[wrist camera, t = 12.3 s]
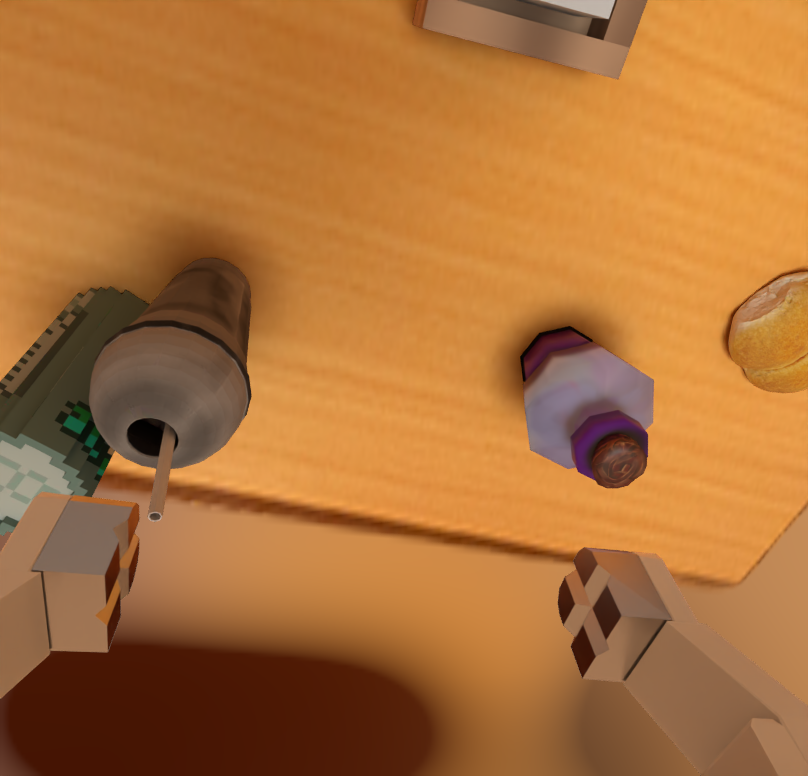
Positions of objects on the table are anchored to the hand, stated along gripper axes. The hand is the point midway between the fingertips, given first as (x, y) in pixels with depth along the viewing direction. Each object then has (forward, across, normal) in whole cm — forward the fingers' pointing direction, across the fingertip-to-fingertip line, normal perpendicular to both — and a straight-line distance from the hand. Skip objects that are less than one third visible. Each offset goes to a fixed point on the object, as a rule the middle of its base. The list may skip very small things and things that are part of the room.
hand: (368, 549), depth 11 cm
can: (+29, +13, +13) cm, 35 cm away
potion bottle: (+29, -17, +10) cm, 35 cm away
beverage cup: (+29, +7, +9) cm, 31 cm away
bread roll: (+30, -32, +4) cm, 44 cm away
